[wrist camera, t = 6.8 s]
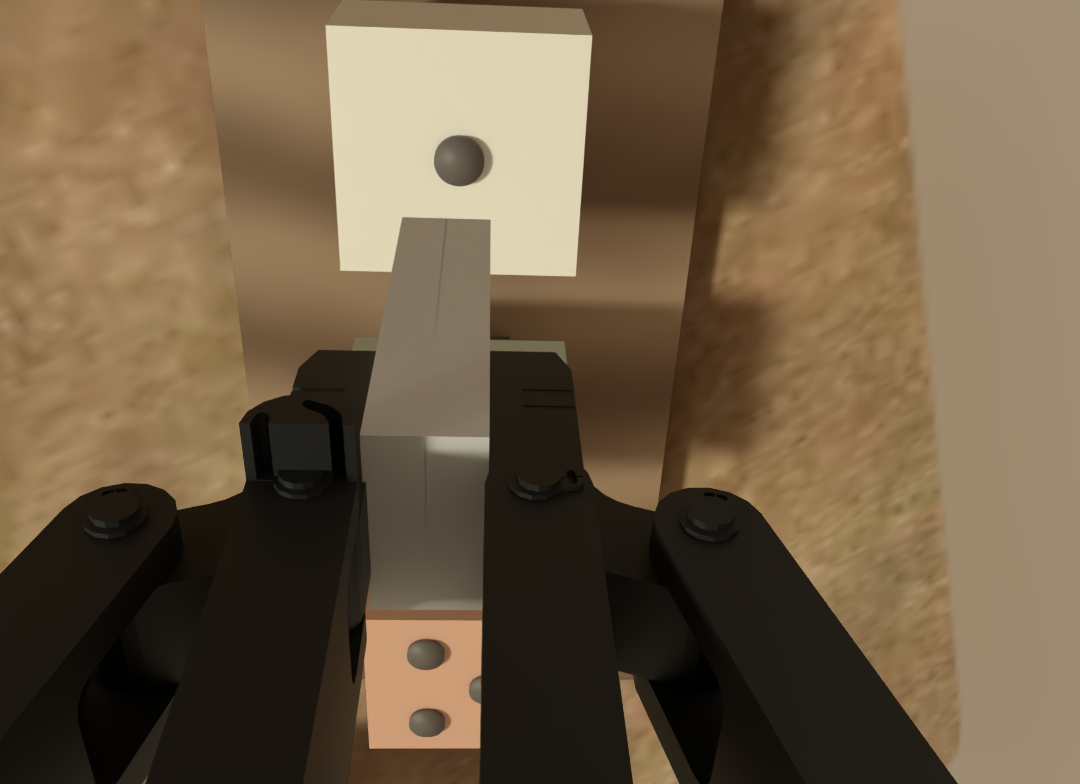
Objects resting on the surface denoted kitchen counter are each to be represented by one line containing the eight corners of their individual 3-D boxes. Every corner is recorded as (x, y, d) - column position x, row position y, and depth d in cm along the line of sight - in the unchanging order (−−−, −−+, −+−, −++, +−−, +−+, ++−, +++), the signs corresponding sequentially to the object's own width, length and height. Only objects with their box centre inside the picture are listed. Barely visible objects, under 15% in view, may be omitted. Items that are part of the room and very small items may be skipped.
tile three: (371, 557, 35) (360, 624, 32) (547, 558, 35) (552, 625, 32) (377, 682, 38) (368, 753, 35) (539, 682, 38) (543, 752, 36)
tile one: (342, -1, 26) (324, 27, 23) (582, 8, 26) (593, 37, 23) (354, 225, 29) (339, 273, 26) (568, 231, 29) (576, 279, 26)
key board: (198, -110, 27) (175, -101, 25) (726, -86, 28) (743, -76, 26) (286, 659, 41) (277, 702, 39) (631, 660, 42) (638, 702, 40)
